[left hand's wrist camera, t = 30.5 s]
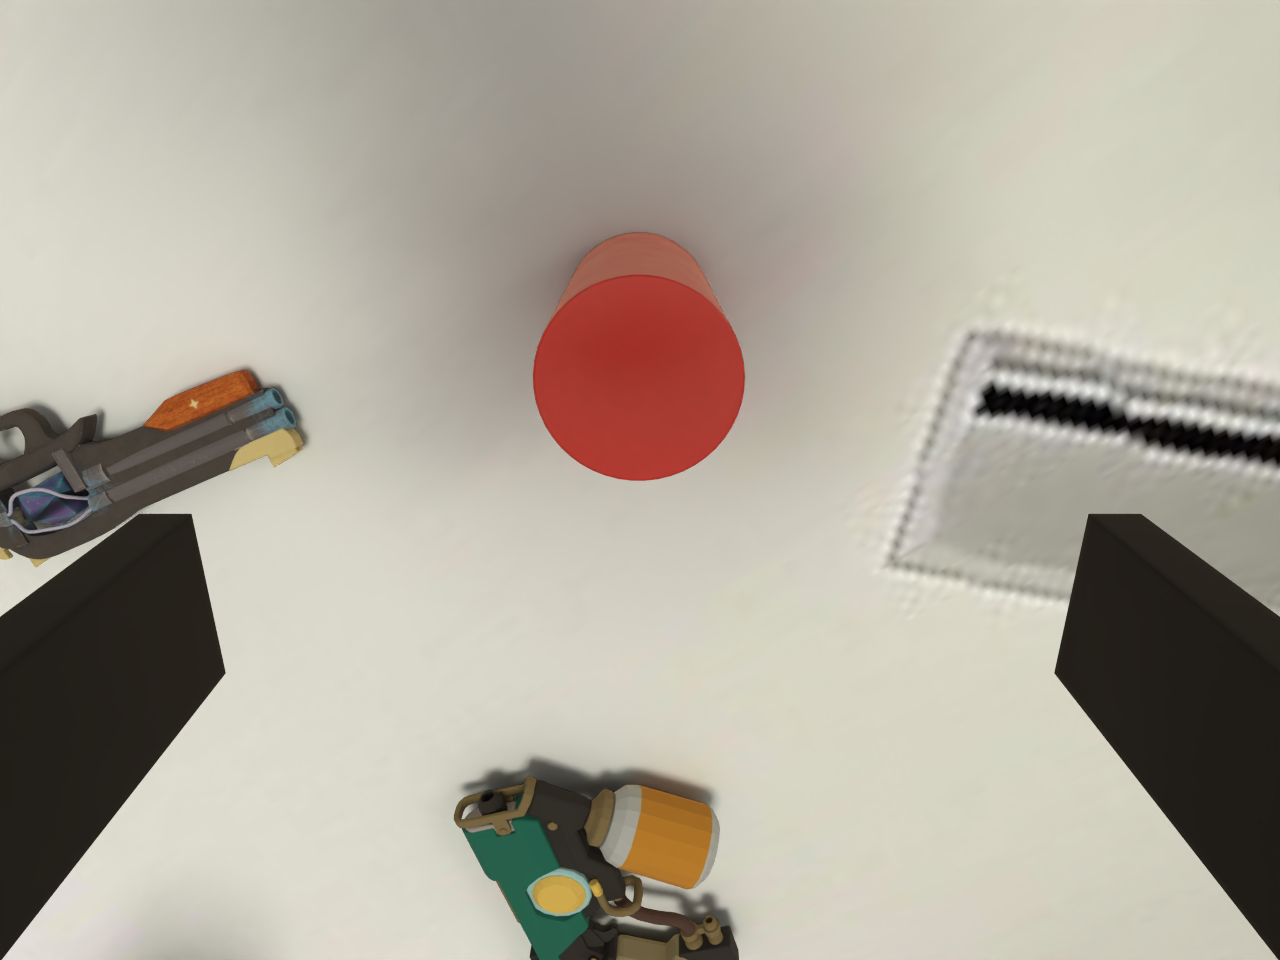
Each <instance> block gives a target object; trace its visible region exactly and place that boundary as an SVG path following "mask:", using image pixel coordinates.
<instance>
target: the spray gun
mask: <svg viewBox="0 0 1280 960" xmlns="http://www.w3.org/2000/svg"><path fill="white" fill-rule="evenodd" d="M523 792H524V794H523V795H518V796H517V799H516V801H515V800H514V798H513V795H514V794H519V793H523ZM476 802H478V808H476V809H474V810H473V811H472V812H470V813H469V814H468V815H467V817H466V818H465V819H461V818H462V815H463V811H464V810H465V808H466V807H467V806H468V805H470V804H472V803H476ZM454 821H455V822H456V824H457V826H458V827H460V828H462V830H463V832H464V834H465V836H466V838H467V840H468V842H469V844H470V846H471V848H472V850H473V851H474V853H475V855H476V857H477V859H478V861H479V863H480V865H481V867H482V869H483V871H484V872H485V874H486V875H487V876H488V878H490V879H491V880H493V881H496V882H497V884H498V886H499V888H500V889H501V891H502V893H503V895H504V897H505V899H506V901H507V903H508V904H509V906H510V908H511V910H512V912H513V914H514V916H515V918H516V919H517V921H518V922H519V923H520V924H521V926H522V927H523V929H524V931H525V933H526V935H527V937H528V939H529V941H530V943H531V945H532V946H531V952H530V958H531V960H739V954H738V948H737V945H736V942H735V940H734V937H733V934H732V932H731V929H730V927H729V926H722V927H720V924H719V921H718V920H717V919H716V918H715V917H714V916H713V915H707V916H706V917H705V918H704V919H703V924H701V925H696V923H695V922H694V921H691V920H690V919H689V918H687V917H686V916H684V915H681V914H678V913H674V912H665V911H657V910H653V909H648V908H644V907H642V906H641V902H642V896H643V890H642V881H641V879H640V878H638V877H636V876H633V875H631V876H626V877H622V875H621V873H620V871H619V869H622V870H625V871H629V872H632V873H635V874H638V875H642V876H645V877H648V878H652V879H655V880H658V881H661V882H665V883H668V884H671V885H674V886H678V887H681V888H684V889H691V888H695V887H697V886H698V885H699V884H700V883H701V882H702V881H704V880H705V878H706V877H707V876H708V875H709V873H710V871H711V868H712V866H713V864H714V860H715V857H716V853H717V848H718V842H719V833H720V827H719V822H718V819H717V817H716V815H715V813H714V811H713V810H712V809H711V808H710V807H709V806H708V805H707V804H704V803H701V802H697V801H694V800H690V799H687V798H683V797H680V796H676V795H673V794H669V793H666V792H662V791H659V790H655V789H652V788H648V787H645V786H641V785H625V786H623V787H622V788H620V789H619V790H617V791H615V792H614V793H613V792H612V791H611V790H607V789H604V790H602V791H601V792H600V793H599V794H598V795H597V796H596V798H594V799H593V800H592V801H591V800H589V799H587V798H586V797H584V796H581V795H578V794H576V793H573V792H570V791H568V790H565V789H562V788H559V787H557V786H554V785H551V784H548V783H546V782H543V781H540V780H537V781H536V778H533V777H530V776H527V778H526V779H525V781H524V784H521V785H517V786H512V787H507V788H502V789H497V790H488V791H486V792H483V793H478V794H473V795H469V796H467V797H464V798H463V799H462V800H461V801H460V802H459V803H458V805H457V807H456V810H455V814H454ZM583 826H584V828H585V830H586V835H587V837H586V835H585V833H584V831H583V829H582V828H583ZM598 846H599V847H600V848H598ZM628 885H633V886H634V899H633V902H631V901H630V900H629V899H628V898H627V897H626V895H625V890H626V886H628ZM611 900H612V901H614V903H615V904H616V905H617V906H612V905H610V904H609V902H608V901H611ZM599 907H601V908H602V909H603V910H604V912H606V913H607V914H609V915H611V916H615V917H624V916H631V917H633V918H635V919H637V920H640V921H644V922H648V923H653V924H658V925H667V926H674V927H677V928H680V933H681V934H675V935H674V936H673V937H672V938H671V939H670V940H669V941H668V942H667V943H664V942H659V941H653V940H648V939H643V938H638V937H633V936H628V935H619V936H618V932H617V929H618V925H617V924H612V925H610V926H606V927H604V926H600V925H597V924H594V923H593V922H592V921H590V920H589V917H590V915H591V914H592V913H593V912H594V911H596V910H597V909H598V908H599Z"/></svg>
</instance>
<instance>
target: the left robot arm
mask: <svg viewBox="0 0 1280 960" xmlns="http://www.w3.org/2000/svg"><path fill="white" fill-rule="evenodd" d="M224 675H225V668H224V663H223V659H222V654H221V649H220V645H219V640H218V635H217V631H216V626H215V621H214V617H213V612H212V607H211V603H210V598H209V593H208V589H207V584H206V579H205V575H204V570H203V565H202V561H201V556H200V552H199V547H198V542H197V538H196V533H195V528H194V524H193V519H192V514H138V515H137V516H136V517H134V518H133V519H132V520H130V521H129V522H128V523H126V524H125V525H124V526H122V527H121V528H119V529H118V530H117V531H115V532H114V533H113V534H111V535H110V536H109V537H107V538H106V539H105V540H103V541H102V542H101V543H99V544H98V545H97V546H95V547H94V548H92V549H91V550H90V551H88V552H87V553H86V554H84V555H83V556H82V557H80V558H79V559H78V560H76V561H75V562H74V563H72V564H71V565H70V566H68V567H67V568H65V569H64V570H63V571H61V572H60V573H59V574H57V575H56V576H55V577H53V578H52V579H51V580H49V581H48V582H47V583H45V584H44V585H43V586H41V587H40V588H38V589H37V590H36V591H34V592H33V593H32V594H30V595H29V596H28V597H26V598H25V599H24V600H22V601H21V602H20V603H18V604H17V605H16V606H14V607H13V608H12V609H10V610H9V611H7V612H6V613H5V614H3V615H2V616H1V617H0V960H2V959H3V957H4V956H5V955H6V953H7V952H8V951H9V950H10V948H11V947H12V946H13V944H14V943H15V942H16V941H17V939H18V938H19V937H20V936H21V934H22V933H23V932H24V930H25V929H26V928H27V927H28V925H29V924H30V923H31V921H32V920H33V919H34V918H35V916H36V915H37V914H38V913H39V911H40V910H41V909H42V907H43V906H44V905H45V904H46V902H47V901H48V900H49V898H50V897H51V896H52V895H53V893H54V892H55V891H56V889H57V888H58V887H59V886H60V884H61V883H62V882H63V881H64V879H65V878H66V877H67V875H68V874H69V873H70V872H71V870H72V869H73V868H74V866H75V865H76V864H77V863H78V861H79V860H80V859H81V857H82V856H83V855H84V854H85V852H86V851H87V850H88V849H89V847H90V846H91V845H92V843H93V842H94V841H95V840H96V838H97V837H98V836H99V834H100V833H101V832H102V831H103V829H104V828H105V827H106V825H107V824H108V823H109V822H110V820H111V819H112V818H113V817H114V815H115V814H116V813H117V811H118V810H119V809H120V808H121V806H122V805H123V804H124V802H125V801H126V800H127V799H128V797H129V796H130V795H131V794H132V792H133V791H134V790H135V788H136V787H137V786H138V785H139V783H140V782H141V781H142V779H143V778H144V777H145V776H146V774H147V773H148V772H149V770H150V769H151V768H152V767H153V765H154V764H155V763H156V762H157V760H158V759H159V758H160V756H161V755H162V754H163V753H164V751H165V750H166V749H167V747H168V746H169V745H170V744H171V742H172V741H173V740H174V738H175V737H176V736H177V735H178V733H179V732H180V731H181V730H182V728H183V727H184V726H185V724H186V723H187V722H188V721H189V719H190V718H191V717H192V715H193V714H194V713H195V712H196V710H197V709H198V708H199V706H200V705H201V704H202V703H203V701H204V700H205V699H206V698H207V696H208V695H209V694H210V692H211V691H212V690H213V689H214V687H215V686H216V685H217V683H218V682H219V681H220V680H221V678H222V677H223V676H224ZM1055 675H1056V676H1057V677H1058V678H1059V680H1060V681H1061V682H1062V683H1063V685H1064V686H1065V687H1066V689H1067V690H1068V691H1069V692H1070V694H1071V695H1072V696H1073V698H1074V699H1075V700H1076V701H1077V703H1078V704H1079V705H1080V706H1081V708H1082V709H1083V710H1084V712H1085V713H1086V714H1087V715H1088V717H1089V718H1090V719H1091V721H1092V722H1093V723H1094V724H1095V726H1096V727H1097V728H1098V730H1099V731H1100V732H1101V733H1102V735H1103V736H1104V737H1105V738H1106V740H1107V741H1108V742H1109V744H1110V745H1111V746H1112V747H1113V749H1114V750H1115V751H1116V753H1117V754H1118V755H1119V756H1120V758H1121V759H1122V760H1123V762H1124V763H1125V764H1126V765H1127V767H1128V768H1129V769H1130V770H1131V772H1132V773H1133V774H1134V776H1135V777H1136V778H1137V779H1138V781H1139V782H1140V783H1141V785H1142V786H1143V787H1144V788H1145V790H1146V791H1147V792H1148V794H1149V795H1150V796H1151V797H1152V799H1153V800H1154V801H1155V802H1156V804H1157V805H1158V806H1159V808H1160V809H1161V810H1162V811H1163V813H1164V814H1165V815H1166V817H1167V818H1168V819H1169V820H1170V822H1171V823H1172V824H1173V825H1174V827H1175V828H1176V829H1177V831H1178V832H1179V833H1180V834H1181V836H1182V837H1183V838H1184V840H1185V841H1186V842H1187V843H1188V845H1189V846H1190V847H1191V849H1192V850H1193V851H1194V852H1195V854H1196V855H1197V856H1198V857H1199V859H1200V860H1201V861H1202V863H1203V864H1204V865H1205V866H1206V868H1207V869H1208V870H1209V872H1210V873H1211V874H1212V875H1213V877H1214V878H1215V879H1216V881H1217V882H1218V883H1219V884H1220V886H1221V887H1222V888H1223V889H1224V891H1225V892H1226V893H1227V895H1228V896H1229V897H1230V898H1231V900H1232V901H1233V902H1234V904H1235V905H1236V906H1237V907H1238V909H1239V910H1240V911H1241V913H1242V914H1243V915H1244V916H1245V918H1246V919H1247V920H1248V921H1249V923H1250V924H1251V925H1252V927H1253V928H1254V929H1255V930H1256V932H1257V933H1258V934H1259V936H1260V937H1261V938H1262V939H1263V941H1264V942H1265V943H1266V945H1267V946H1268V947H1269V948H1270V950H1271V951H1272V952H1273V953H1274V955H1275V956H1276V957H1277V959H1278V960H1280V617H1279V616H1278V615H1277V614H1275V613H1274V612H1273V611H1271V610H1270V609H1268V608H1267V607H1266V606H1264V605H1263V604H1262V603H1260V602H1259V601H1258V600H1256V599H1255V598H1254V597H1252V596H1251V595H1250V594H1248V593H1247V592H1246V591H1244V590H1243V589H1241V588H1240V587H1239V586H1237V585H1236V584H1235V583H1233V582H1232V581H1231V580H1229V579H1228V578H1227V577H1225V576H1224V575H1223V574H1221V573H1220V572H1219V571H1217V570H1216V569H1215V568H1213V567H1212V566H1210V565H1209V564H1208V563H1206V562H1205V561H1204V560H1202V559H1201V558H1200V557H1198V556H1197V555H1196V554H1194V553H1193V552H1192V551H1190V550H1189V549H1188V548H1186V547H1185V546H1183V545H1182V544H1181V543H1179V542H1178V541H1177V540H1175V539H1174V538H1173V537H1171V536H1170V535H1169V534H1167V533H1166V532H1165V531H1163V530H1162V529H1161V528H1159V527H1158V526H1156V525H1155V524H1154V523H1152V522H1151V521H1150V520H1148V519H1147V518H1146V517H1144V516H1143V515H1142V514H1088V519H1087V524H1086V528H1085V533H1084V538H1083V542H1082V547H1081V552H1080V556H1079V561H1078V565H1077V570H1076V575H1075V579H1074V584H1073V589H1072V593H1071V598H1070V603H1069V607H1068V612H1067V617H1066V621H1065V626H1064V631H1063V635H1062V640H1061V645H1060V649H1059V654H1058V659H1057V663H1056V668H1055Z"/></svg>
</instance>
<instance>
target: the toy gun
mask: <svg viewBox="0 0 1280 960" xmlns="http://www.w3.org/2000/svg"><path fill="white" fill-rule="evenodd" d="M283 405H284V402H283V398H282V396H281V395H280V393H279V391H277V390H276V389H275V388H271V389H269V388H265V389H262V390H259V388H258V386H257V384H256V382H255V380H254V379H253V377H252V375H251V374H250V373H249V372H248V371H246V370H242V371H238V372H234V373H231V374H229V375H226V376H223V377H221V378H218V379H215V380H213V381H210V382H208V383H205V384H203V385H200V386H198V387H195V388H193V389H190V390H188V391H185V392H183V393H180V394H178V395H175V396H173V397H171V398H169V399H167V400H165V401H164V402H163V403H162V404H161V405H160V407H159V408H158V409H157V410H156V411H155V412H154V414H153V415H152V416H151V417H150V418H149V419H148V420H147V422H146V423H145V424H144V426H142V427H140V428H138V429H135V430H133V431H131V432H129V433H126V434H124V435H122V436H120V437H117V438H114V439H111V440H106V441H98V442H92V440H93V437H94V434H95V429H96V421H97V415H96V414H94V415H90V416H87V417H83V418H80V419H79V420H78V421H77V422H76V423H75V424H74V425H73V426H72V427H71V428H70V429H69V430H68V431H66V432H65V433H64V434H62V435H61V436H59V435H57V434H55V433H54V431H53V429H52V428H51V426H50V424H49V422H48V421H47V420H46V419H45V418H44V417H43V416H42V415H41V414H39V413H38V412H36V411H34V410H32V409H27V408H25V409H21V410H16V411H12V412H10V413H7V414H5V415H3V416H1V417H0V431H2V430H6V429H10V428H13V427H18V428H19V429H20V430H21V431H22V433H23V435H24V437H25V451H24V455H22V456H20V457H17V458H15V459H13V460H11V461H8V462H6V463H4V464H1V465H0V559H4V560H6V559H9V558H12V557H13V555H12V554H11V553H10V551H9V550H8V549H10V550H12V551H14V552H16V553H18V554H20V555H22V556H25V557H27V558H30V560H31V562H32V563H33V565H34V566H35V567H37V566H39V565H40V564H42V563H43V562H45V561H46V560H48V559H49V558H51V557H53V556H56V555H58V554H61V553H63V552H65V551H68V550H70V549H72V548H75V547H77V546H79V545H82V544H84V543H86V542H88V541H91V540H93V539H95V538H97V537H99V536H101V535H103V534H105V533H107V532H108V531H110V530H112V529H114V528H115V527H116V526H118V525H119V524H121V523H122V522H124V521H125V520H127V519H128V518H129V517H131V516H132V515H133V514H135V513H136V512H137V511H139V510H140V509H142V508H144V507H146V506H149V505H151V504H153V503H155V502H158V501H160V500H162V499H165V498H167V497H169V496H172V495H174V494H176V493H178V492H181V491H183V490H185V489H188V488H190V487H192V486H195V485H197V484H199V483H201V482H204V481H206V480H208V479H211V478H213V477H215V476H218V475H220V474H222V473H225V472H227V471H229V470H233V469H235V468H238V467H240V466H243V465H245V464H247V463H250V462H252V461H254V460H257V459H259V458H261V457H264V456H266V455H267V456H268V458H269V459H270V461H271V463H272V464H273V466H274V467H276V466H277V465H279V464H281V463H282V462H284V461H286V460H287V459H289V458H290V457H292V456H293V455H295V454H296V453H298V452H299V451H301V450H302V447H301V445H302V444H304V443H303V442H302V440H301V438H300V436H299V434H298V433H297V432H296V430H295V429H293V428H294V427H296V418H295V416H294V414H293V413H292V411H291V410H290V409H289V408H287V407H284V408H281V409H280V407H282V406H283ZM57 465H58V466H59V467H60V469H61V472H60V473H58V474H56V475H54V476H53V477H51V478H48V479H46V480H45V481H43V482H42V483H40V484H39V485H37V486H35V487H33V488H30V489H25V490H22V491H19V492H16V493H15V492H14V491H13V489H12V488H11V487H13V486H15V485H17V484H20V483H22V482H24V481H26V480H29V479H31V478H33V477H35V476H37V475H39V474H41V473H43V472H45V471H47V470H49V469H51V468H53V467H55V466H57ZM18 495H19V496H18ZM17 496H18V497H17ZM91 511H93V512H92V514H91V515H90V516H89V517H87V518H86V519H85V520H83V521H81V520H82V519H83V518H84V517H85V516H86V515H88V514H89V513H90V512H91ZM81 514H82V515H81ZM80 515H81V516H80ZM78 516H80V517H79V518H77V519H76V520H74V521H72V522H70V523H68V524H64V523H66V522H67V521H68V520H70V519H72V518H75V517H78ZM33 521H35V522H41V523H47V524H53V525H59V526H55V527H49V528H44V529H37V527H36V526H35V524H34V522H33ZM79 521H81V522H79ZM78 522H79V523H78ZM76 523H77V524H76ZM63 524H64V525H63ZM63 528H64V529H63ZM57 529H60V530H57ZM52 530H57V531H52ZM46 531H51V532H46Z"/></svg>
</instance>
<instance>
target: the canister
mask: <svg viewBox="0 0 1280 960" xmlns="http://www.w3.org/2000/svg"><path fill="white" fill-rule="evenodd" d="M744 383H745V372H744V361H743V357H742V352H741V348H740V346H739V343H738V340H737V337H736V335H735V333H734V331H733V329H732V327H731V326H730V324H729V322H728V320H727V318H726V316H725V314H724V312H723V310H722V308H721V306H720V304H719V303H718V301H717V299H716V297H715V295H714V293H713V291H712V289H711V287H710V285H709V283H708V281H707V280H706V278H705V276H704V274H703V272H702V270H701V268H700V266H699V265H698V264H697V262H696V261H695V259H694V258H693V257H692V256H691V255H690V254H689V253H688V252H687V251H686V250H685V249H684V248H682V247H681V246H680V245H678V244H677V243H675V242H673V241H672V240H669V239H667V238H665V237H662V236H659V235H655V234H650V233H627V234H622V235H618V236H615V237H613V238H610V239H608V240H606V241H604V242H603V243H601V244H599V245H598V246H596V247H595V248H594V249H593V250H591V251H590V252H589V253H588V254H587V255H586V256H585V257H584V259H583V260H582V261H581V263H580V264H579V265H578V267H577V269H576V271H575V273H574V275H573V277H572V278H571V280H570V282H569V284H568V286H567V288H566V290H565V292H564V294H563V296H562V298H561V300H560V302H559V304H558V306H557V307H556V309H555V311H554V313H553V315H552V317H551V319H550V321H549V323H548V325H547V327H546V329H545V331H544V333H543V335H542V337H541V340H540V342H539V345H538V347H537V352H536V356H535V360H534V369H533V388H534V394H535V400H536V404H537V407H538V410H539V413H540V416H541V418H542V420H543V422H544V424H545V426H546V428H547V429H548V431H549V433H550V434H551V436H552V437H553V438H554V440H555V441H556V442H557V443H558V444H559V446H560V447H561V448H562V449H563V450H564V451H565V452H566V453H567V454H569V455H570V456H571V457H572V458H573V459H575V460H576V461H578V462H579V463H580V464H582V465H584V466H586V467H587V468H589V469H591V470H593V471H595V472H598V473H601V474H603V475H606V476H610V477H613V478H617V479H624V480H636V481H645V480H654V479H660V478H664V477H668V476H672V475H675V474H677V473H680V472H683V471H685V470H687V469H688V468H690V467H692V466H694V465H696V464H697V463H699V462H700V461H702V460H703V459H704V458H706V457H707V456H708V455H709V454H710V453H711V452H713V451H714V450H715V449H716V448H717V447H718V445H719V444H720V443H721V442H722V441H723V440H724V438H725V437H726V435H727V434H728V432H729V431H730V429H731V428H732V426H733V424H734V422H735V419H736V417H737V415H738V412H739V409H740V406H741V403H742V398H743V393H744Z"/></svg>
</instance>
